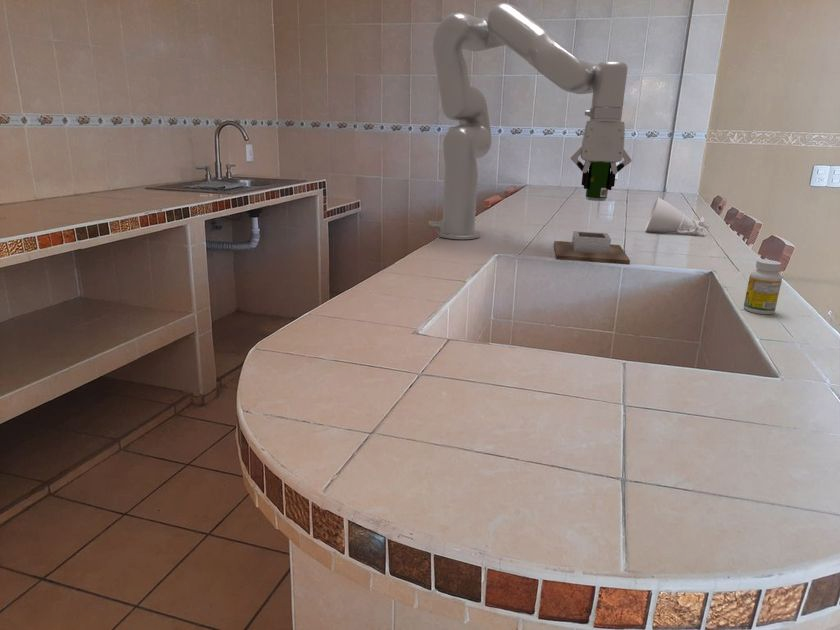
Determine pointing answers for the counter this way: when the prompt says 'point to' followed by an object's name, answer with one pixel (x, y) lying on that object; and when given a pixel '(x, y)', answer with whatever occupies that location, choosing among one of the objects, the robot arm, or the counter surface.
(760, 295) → the supplement bottle
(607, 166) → the beer can
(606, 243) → the cap board
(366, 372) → the counter surface
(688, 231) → the rocket engine
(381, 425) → the counter surface
